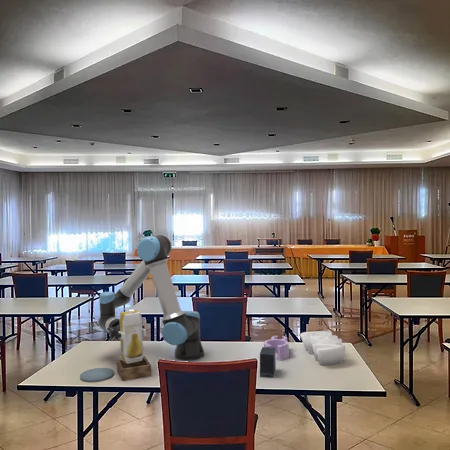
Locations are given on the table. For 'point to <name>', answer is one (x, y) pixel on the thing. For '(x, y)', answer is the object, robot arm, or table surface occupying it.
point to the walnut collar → (133, 369)
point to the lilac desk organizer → (278, 346)
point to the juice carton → (131, 336)
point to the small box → (267, 362)
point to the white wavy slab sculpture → (324, 347)
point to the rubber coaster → (97, 374)
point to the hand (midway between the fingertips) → (135, 334)
